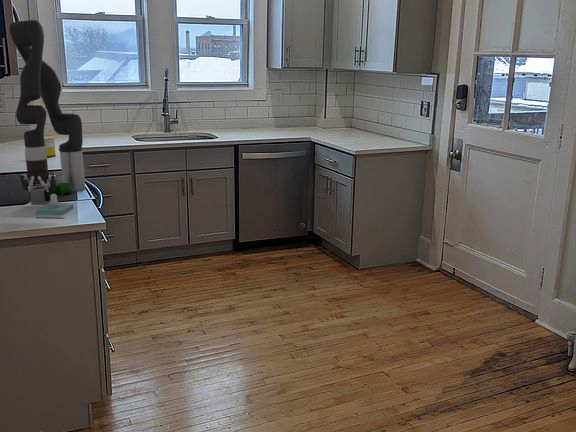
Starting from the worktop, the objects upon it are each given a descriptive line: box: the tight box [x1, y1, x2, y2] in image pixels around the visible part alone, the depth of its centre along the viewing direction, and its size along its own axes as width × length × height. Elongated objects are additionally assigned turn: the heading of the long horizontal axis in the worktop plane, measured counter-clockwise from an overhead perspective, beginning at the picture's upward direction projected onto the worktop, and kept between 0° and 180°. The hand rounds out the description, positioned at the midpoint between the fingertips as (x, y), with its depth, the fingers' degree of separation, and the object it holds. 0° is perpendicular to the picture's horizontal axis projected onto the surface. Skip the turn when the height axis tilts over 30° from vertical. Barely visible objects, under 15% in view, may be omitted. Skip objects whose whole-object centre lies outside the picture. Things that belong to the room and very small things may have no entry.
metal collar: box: [29, 186, 51, 205], centre depth 233 cm, size 5×5×6 cm
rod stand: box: [23, 199, 60, 208], centre depth 233 cm, size 10×10×6 cm
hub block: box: [35, 194, 75, 220], centre depth 221 cm, size 10×10×8 cm
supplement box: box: [44, 136, 57, 158], centre depth 344 cm, size 6×6×11 cm
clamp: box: [41, 182, 73, 196], centre depth 247 cm, size 12×6×9 cm, turn 94°
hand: (40, 200), depth 233 cm, fingers closed on metal collar, 5 cm apart
